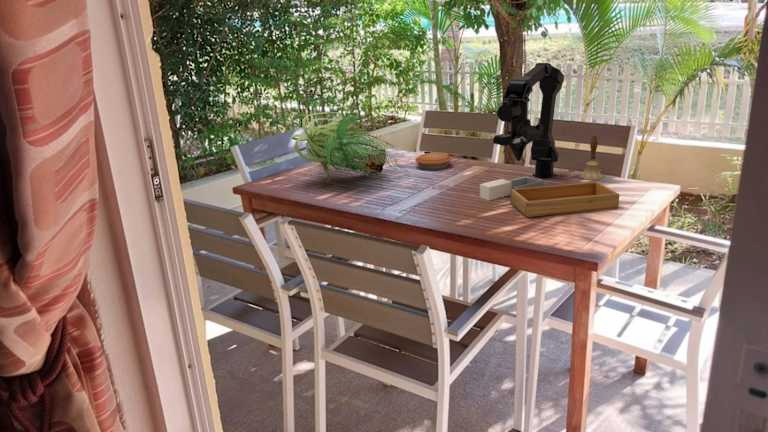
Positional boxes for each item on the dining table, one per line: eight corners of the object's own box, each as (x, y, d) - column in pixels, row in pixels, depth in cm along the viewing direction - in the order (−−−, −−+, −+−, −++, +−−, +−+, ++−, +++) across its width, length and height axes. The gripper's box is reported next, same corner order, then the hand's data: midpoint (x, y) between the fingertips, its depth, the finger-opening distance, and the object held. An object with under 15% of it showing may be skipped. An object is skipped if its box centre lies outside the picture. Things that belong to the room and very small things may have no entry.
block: (502, 192, 217) (502, 178, 215) (511, 195, 212) (511, 181, 211) (479, 197, 212) (479, 184, 210) (489, 201, 208) (489, 187, 206)
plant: (416, 166, 226) (322, 131, 206) (368, 221, 247) (278, 194, 227) (402, 106, 248) (315, 69, 228) (358, 161, 269) (275, 131, 249)
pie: (454, 162, 260) (454, 150, 259) (449, 171, 246) (449, 159, 244) (418, 162, 264) (418, 150, 262) (412, 171, 250) (411, 159, 248)
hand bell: (606, 175, 228) (609, 134, 222) (598, 181, 222) (600, 138, 216) (585, 172, 233) (587, 132, 228) (576, 178, 227) (578, 136, 222)
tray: (596, 195, 207) (597, 180, 205) (618, 209, 193) (619, 192, 191) (509, 205, 204) (510, 188, 202) (526, 219, 189) (526, 202, 188)
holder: (526, 183, 224) (526, 176, 223) (543, 189, 217) (543, 181, 216) (499, 190, 218) (499, 182, 217) (515, 196, 210) (515, 188, 209)
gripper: (514, 123, 196) (514, 169, 202) (556, 115, 205) (554, 159, 210) (492, 119, 206) (492, 163, 211) (532, 111, 214) (531, 154, 219)
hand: (518, 160), depth 213 cm, fingers closed
